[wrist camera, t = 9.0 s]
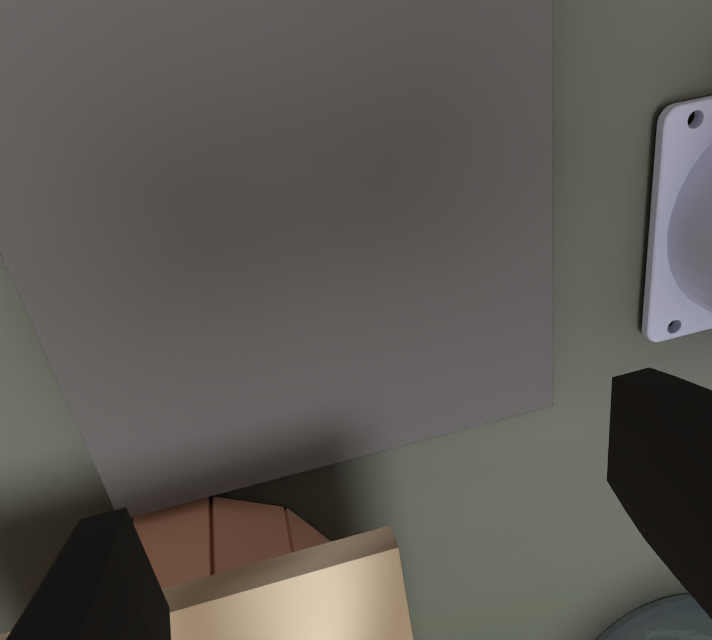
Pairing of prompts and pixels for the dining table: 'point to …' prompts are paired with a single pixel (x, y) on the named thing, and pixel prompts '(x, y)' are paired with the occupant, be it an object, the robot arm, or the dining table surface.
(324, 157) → the mat
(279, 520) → the bowl
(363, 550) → the lid
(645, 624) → the dark green cup
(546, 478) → the dining table surface
